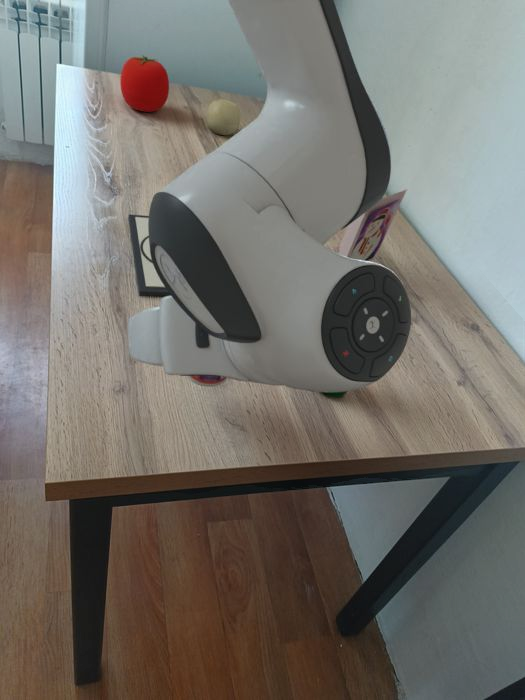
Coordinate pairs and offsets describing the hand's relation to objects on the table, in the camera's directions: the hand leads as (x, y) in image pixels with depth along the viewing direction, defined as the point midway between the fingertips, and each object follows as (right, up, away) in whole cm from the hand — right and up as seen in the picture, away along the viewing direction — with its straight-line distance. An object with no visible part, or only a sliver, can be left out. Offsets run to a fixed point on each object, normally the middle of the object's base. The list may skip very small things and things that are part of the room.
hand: (213, 334), depth 59 cm
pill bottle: (-1, -4, +3) cm, 6 cm away
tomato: (-22, +53, +64) cm, 86 cm away
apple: (-4, +49, +66) cm, 82 cm away
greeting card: (+20, +14, +38) cm, 45 cm away
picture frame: (-7, +13, +27) cm, 31 cm away
